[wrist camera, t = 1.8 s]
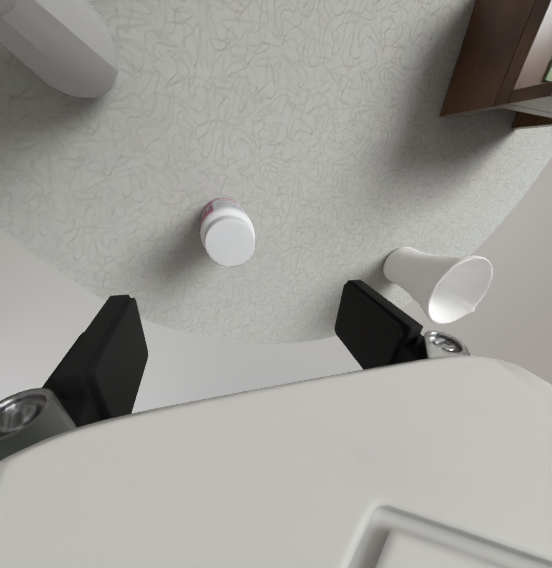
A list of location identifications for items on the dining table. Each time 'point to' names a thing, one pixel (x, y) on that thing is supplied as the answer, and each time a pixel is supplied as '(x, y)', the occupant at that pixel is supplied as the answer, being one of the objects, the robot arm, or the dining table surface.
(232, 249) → the pill bottle
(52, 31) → the salt shaker
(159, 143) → the dining table surface
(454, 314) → the cup
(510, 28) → the shelf
